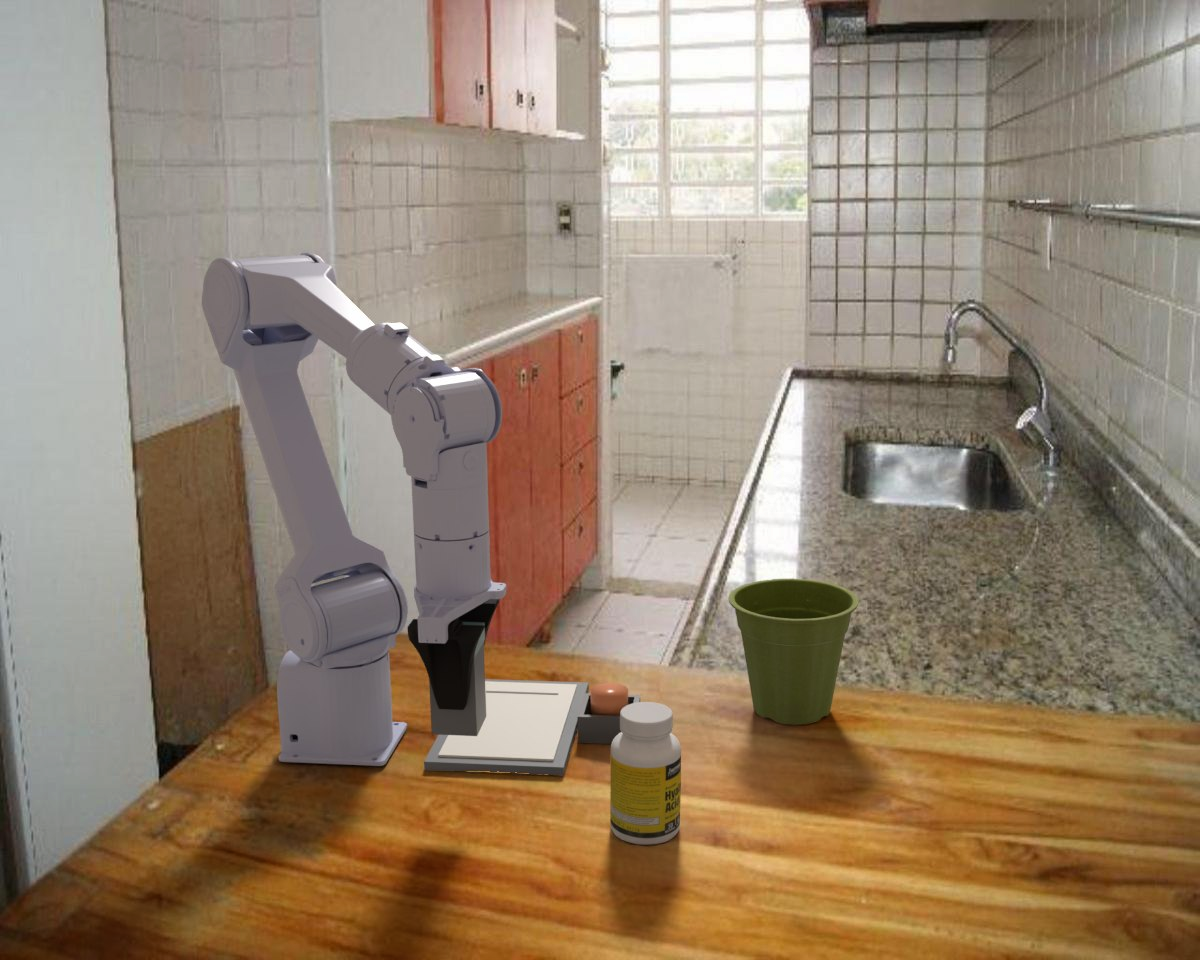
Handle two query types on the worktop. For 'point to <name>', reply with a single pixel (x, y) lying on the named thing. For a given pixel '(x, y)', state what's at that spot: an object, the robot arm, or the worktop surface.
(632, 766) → the supplement bottle
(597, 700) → the button
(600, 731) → the button housing
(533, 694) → the sketch board
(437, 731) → the block
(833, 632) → the plant pot
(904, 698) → the worktop surface
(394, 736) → the robot arm
